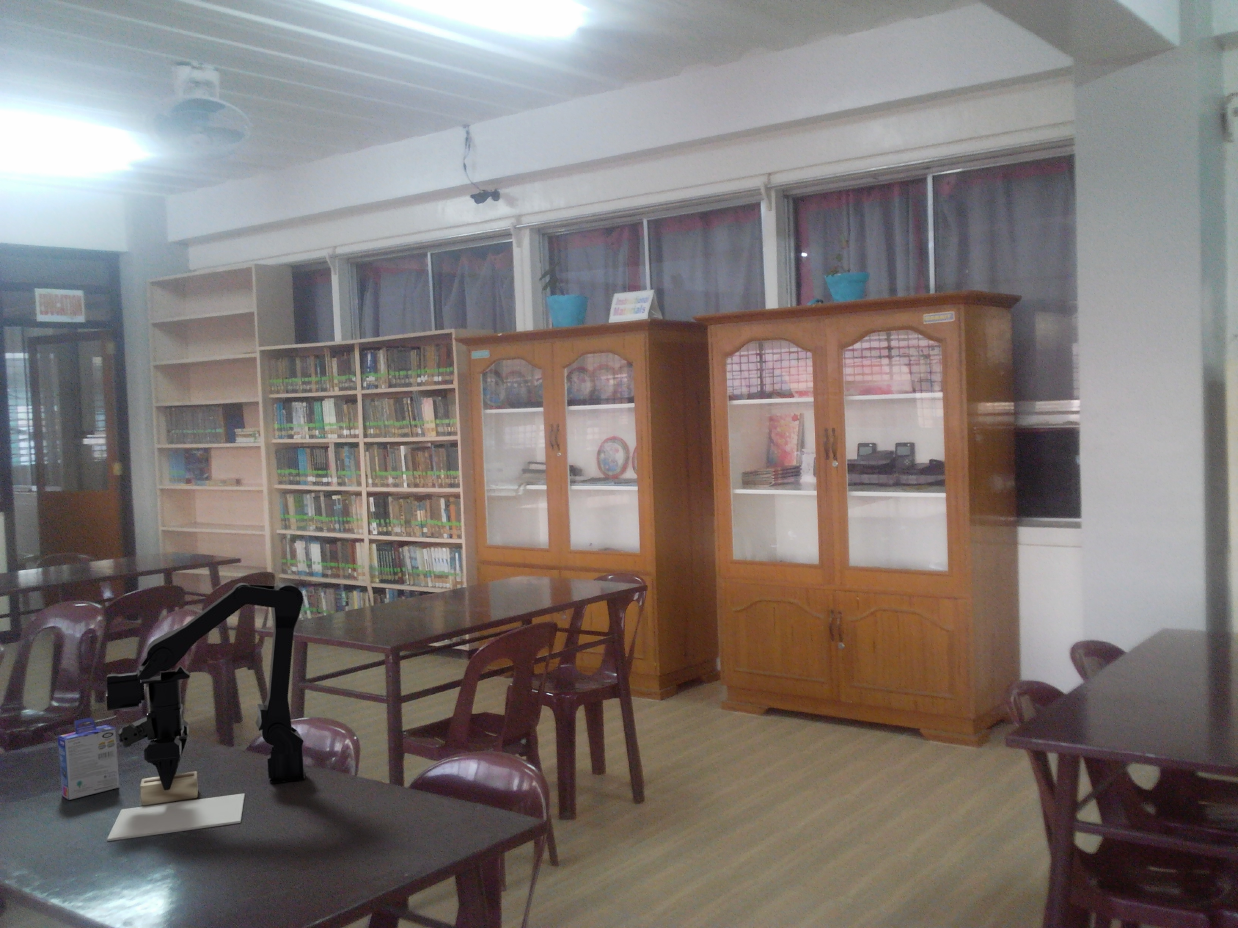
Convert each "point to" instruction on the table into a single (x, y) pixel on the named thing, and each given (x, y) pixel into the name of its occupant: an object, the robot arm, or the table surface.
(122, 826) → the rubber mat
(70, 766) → the ink cartridge box
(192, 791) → the grooved beige block
